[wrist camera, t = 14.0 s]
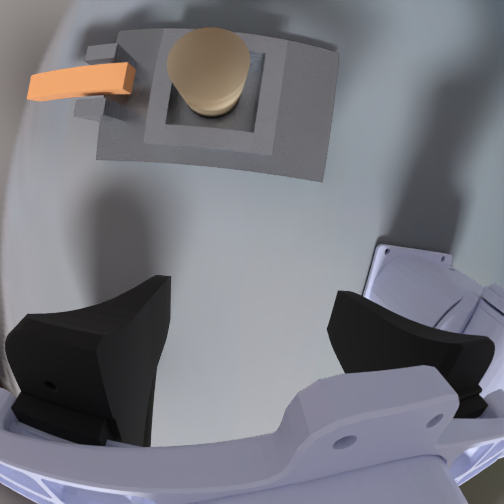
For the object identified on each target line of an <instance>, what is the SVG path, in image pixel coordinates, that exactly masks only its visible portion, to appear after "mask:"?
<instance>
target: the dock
mask: <svg viewBox="0 0 504 504" xmlns="http://www.w3.org/2000/svg"><path fill="white" fill-rule="evenodd" d="M193 30H196V29H192V28H153V29H134V30H122V31H119V32H118V36H117V39H116V43H111V44H102V45H94V46H88V48H87V52H86V56H85V60H84V61H85V62H87V63H89V64H90V65H98V64H109V63H124V62H128V63H129V64H130V65H131V66H133V67H134V68H135V69H136V72H135V77H134V82H133V87H132V93H131V94H113V95H104V98H96V99H82V100H76V105H75V112H74V117H79V118H84V119H89V120H94V121H99V122H100V126H99V135H98V144H97V154H96V160H118V161H142V162H159V163H174V164H186V165H198V166H208V167H218V168H227V169H236V170H244V171H252V172H259V173H267V174H274V175H280V176H287V177H293V178H300V179H306V180H311V181H317V182H323V177H324V170H325V164H326V158H327V151H328V144H329V137H330V130H331V123H332V115H333V108H334V99H335V91H336V82H337V73H338V63H339V53H337V52H334V51H331V50H327V49H323V48H320V47H316V46H312V45H308V44H304V43H299V42H295V41H290V40H285V39H280V38H275V37H269V36H263V35H257V34H250V33H242V32H233V31H231V32H233V33H235V34H236V35H238V36H239V37H240V38H241V39H242V40H243V41H244V43H245V44H246V46H247V48H248V50H249V53H250V67H249V71H248V74H247V77H246V80H245V83H244V87H243V90H242V93H241V96H240V100H239V102H238V105H237V106H236V108H235V109H234V110H233V111H232V112H231V113H229V114H228V115H226V116H224V117H221V118H217V119H207V118H203V117H200V116H198V115H197V114H195V113H194V112H193V111H192V110H191V109H190V107H189V106H188V105H187V103H186V102H185V100H184V99H183V97H182V96H181V94H180V93H179V91H178V90H177V89H176V87H175V86H174V84H173V83H172V81H171V80H170V78H169V75H168V72H167V59H168V55H169V52H170V50H171V49H172V47H173V46H174V44H175V43H176V42H177V41H178V40H179V39H180V38H181V37H182V36H184V35H185V34H187V33H189V32H191V31H193Z"/></svg>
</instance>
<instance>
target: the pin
mask: <svg viewBox="0 0 504 504" xmlns="http://www.w3.org/2000/svg"><path fill="white" fill-rule="evenodd" d="M135 72H136V69H135V68H134V67H133V66H131V65H130V64H129V63H128V62H124V63H109V64H98V65H89V66H81V67H74V68H67V69H61V70H55V71H50V72H45V73H40V74H35V75H32V76H31V81H30V86H29V91H28V96H27V99H30V100H35V101H47V100H54V99H62V98H71V97H82V96H95V95H113V94H131V93H132V87H133V82H134V77H135Z"/></svg>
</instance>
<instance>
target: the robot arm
mask: <svg viewBox="0 0 504 504" xmlns="http://www.w3.org/2000/svg"><path fill="white" fill-rule="evenodd" d="M386 249H388V251H387V252H386V253H385V250H386ZM441 258H442V259H441ZM451 263H452V255H450V254H447V253H440V252H434V251H427V250H421V249H414V248H407V247H400V246H393V245H386V244H379V245H378V246H377V247H376V250H375V254H374V258H373V262H372V266H371V269H370V273H369V276H368V280H367V283H366V287H365V290H364V294H363V296H361V295H359V294H357V293H354V292H351V291H338V292H337V296H336V300H335V303H334V307H333V310H332V314H331V317H330V321H329V324H328V327H327V331H328V335H329V339H330V342H331V345H332V347H333V350H334V352H335V354H336V356H337V358H338V360H339V362H340V364H341V366H342V368H343V370H344V372H345V374H340V375H336V376H332V377H328V378H324V379H319V380H318V381H316V382H314V383H313V384H311V385H310V386H308V387H306V388H305V389H303V390H301V391H300V392H298V393H297V395H296V396H295V397H294V399H293V400H292V401H291V403H290V404H289V405H288V407H287V408H286V410H285V413H284V416H283V419H282V422H281V424H280V426H279V428H278V430H277V431H275V432H273V433H270V434H265V435H260V436H255V437H249V438H243V439H237V440H230V441H223V442H216V443H207V444H197V445H185V446H169V447H143V440H144V431H145V423H146V416H147V409H148V402H149V397H150V391H151V386H152V382H153V378H154V374H155V371H156V368H157V365H158V362H159V359H160V356H161V353H162V350H163V347H164V344H165V341H166V338H167V334H168V329H169V324H170V302H171V276H162V275H155V276H153V277H151V278H150V279H148V280H146V281H145V282H143V283H141V284H140V285H138V286H136V287H135V288H133V289H131V290H129V291H127V292H125V293H123V294H121V295H119V296H117V297H115V298H113V299H111V300H108V301H105V302H103V303H100V304H97V305H94V306H90V307H86V308H82V309H78V310H73V311H67V312H59V313H46V314H27V315H26V316H25V317H24V318H23V319H22V320H21V321H20V322H19V323H18V324H17V326H16V327H15V328H14V329H13V330H12V331H11V332H10V333H9V334H8V335H7V338H6V341H5V351H6V355H7V359H8V362H9V364H10V367H11V369H12V372H13V374H14V376H15V379H16V381H17V383H18V385H19V388H20V390H21V392H20V394H19V396H18V397H17V399H16V397H15V396H14V395H13V394H11V393H10V392H9V391H7V390H5V389H3V388H0V483H2V484H4V485H6V486H7V487H9V488H10V489H12V490H14V491H16V492H17V493H19V494H21V495H23V496H25V497H26V498H28V499H31V500H32V501H34V502H36V503H38V504H468V503H467V501H466V499H465V497H464V496H463V494H462V492H461V490H460V489H459V487H458V486H459V485H461V484H463V483H464V482H466V481H467V480H469V479H470V478H472V477H473V476H475V475H476V474H478V473H479V472H480V471H482V470H483V469H485V468H486V467H488V466H489V465H491V464H492V463H493V462H495V461H496V460H497V459H498V458H502V457H504V288H502V287H500V286H498V285H496V284H492V285H490V286H489V287H487V286H485V287H483V286H482V285H480V284H479V283H477V282H476V281H474V280H472V279H471V278H469V277H468V276H466V275H465V274H463V273H461V272H460V271H458V270H457V269H455V268H453V267H452V266H451Z"/></svg>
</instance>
